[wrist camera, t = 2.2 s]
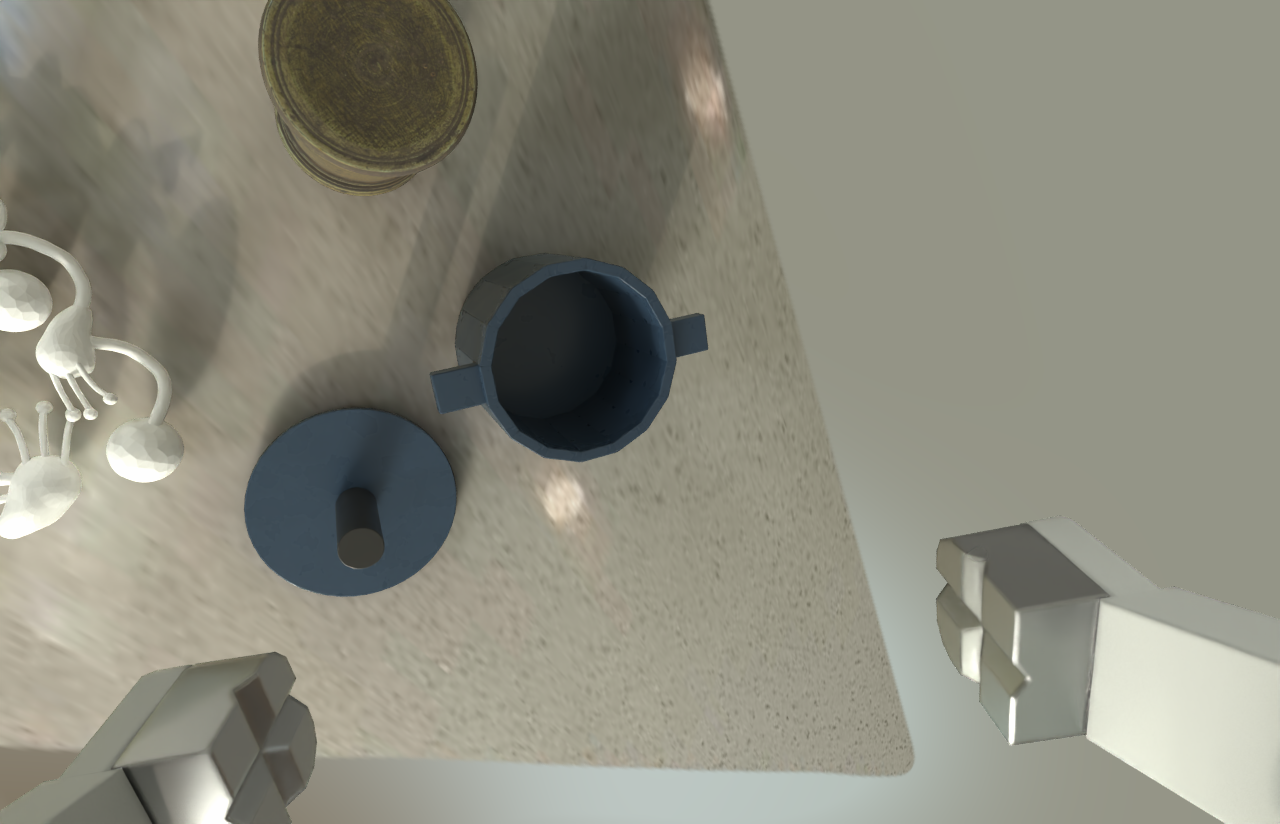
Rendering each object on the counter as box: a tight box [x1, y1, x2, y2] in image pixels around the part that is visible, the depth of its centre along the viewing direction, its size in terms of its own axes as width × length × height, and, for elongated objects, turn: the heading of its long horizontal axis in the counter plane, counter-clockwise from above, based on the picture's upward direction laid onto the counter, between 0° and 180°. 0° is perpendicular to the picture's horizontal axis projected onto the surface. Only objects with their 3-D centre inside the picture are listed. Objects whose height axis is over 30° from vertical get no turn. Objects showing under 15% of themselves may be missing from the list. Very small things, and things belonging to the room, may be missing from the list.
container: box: [258, 0, 478, 196], centre depth 37 cm, size 9×9×18 cm
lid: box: [244, 408, 457, 597], centre depth 47 cm, size 13×13×9 cm
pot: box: [429, 253, 708, 462], centre depth 49 cm, size 12×18×10 cm
